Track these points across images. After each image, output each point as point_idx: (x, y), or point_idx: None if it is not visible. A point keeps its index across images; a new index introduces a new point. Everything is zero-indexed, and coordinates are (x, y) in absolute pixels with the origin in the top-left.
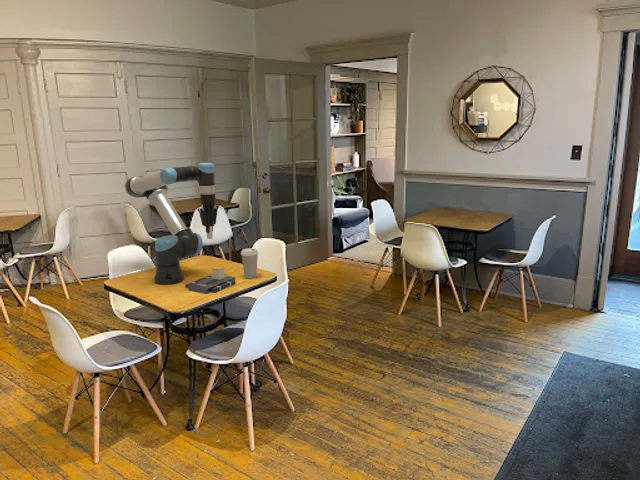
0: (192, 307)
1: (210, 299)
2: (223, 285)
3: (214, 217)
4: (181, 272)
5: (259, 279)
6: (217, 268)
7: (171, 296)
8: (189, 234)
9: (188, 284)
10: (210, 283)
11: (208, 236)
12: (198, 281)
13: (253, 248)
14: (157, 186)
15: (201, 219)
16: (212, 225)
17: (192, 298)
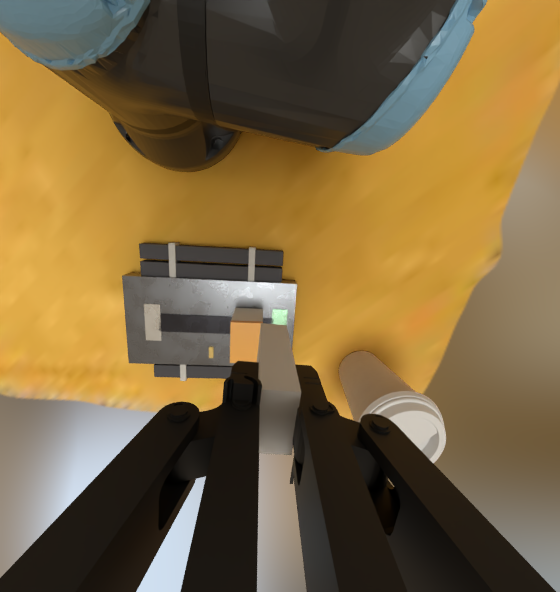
0: (19, 394)
1: (105, 396)
2: (204, 377)
3: (415, 589)
4: (199, 152)
5: (342, 410)
6: (237, 346)
7: (45, 263)
8: (341, 5)
9: (145, 256)
10: (186, 335)
11: (258, 351)
12: (181, 279)
13: (442, 444)
14: None
15: (64, 528)
16: (292, 470)
17: (77, 342)
